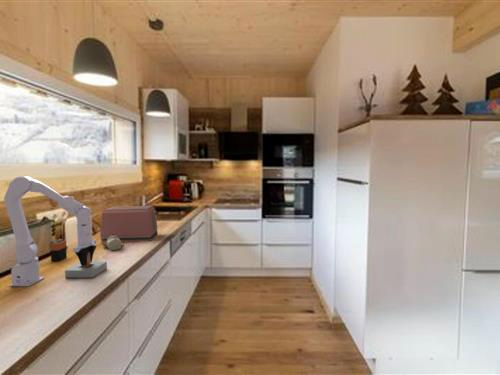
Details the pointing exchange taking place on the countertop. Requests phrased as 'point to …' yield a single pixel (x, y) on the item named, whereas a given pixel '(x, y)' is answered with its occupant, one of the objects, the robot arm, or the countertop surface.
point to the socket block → (86, 270)
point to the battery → (58, 250)
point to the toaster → (129, 223)
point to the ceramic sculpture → (113, 243)
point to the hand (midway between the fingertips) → (86, 263)
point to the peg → (87, 262)
